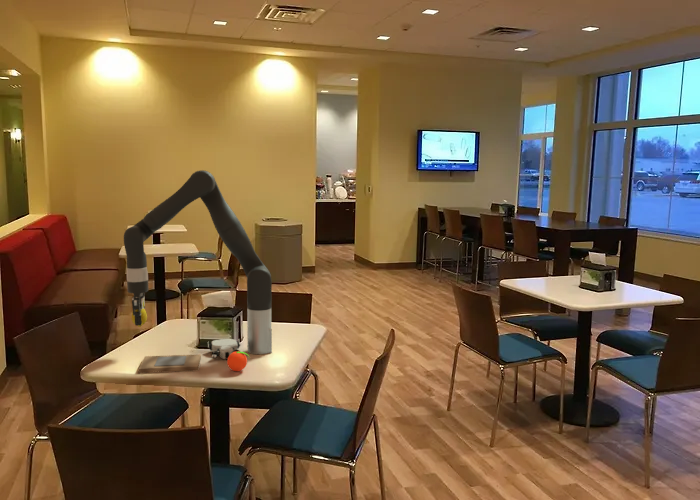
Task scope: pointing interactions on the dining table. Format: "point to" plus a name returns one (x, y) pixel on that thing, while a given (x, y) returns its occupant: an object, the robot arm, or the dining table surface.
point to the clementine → (237, 361)
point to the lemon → (143, 317)
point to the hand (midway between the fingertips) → (139, 323)
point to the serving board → (170, 363)
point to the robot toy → (223, 347)
